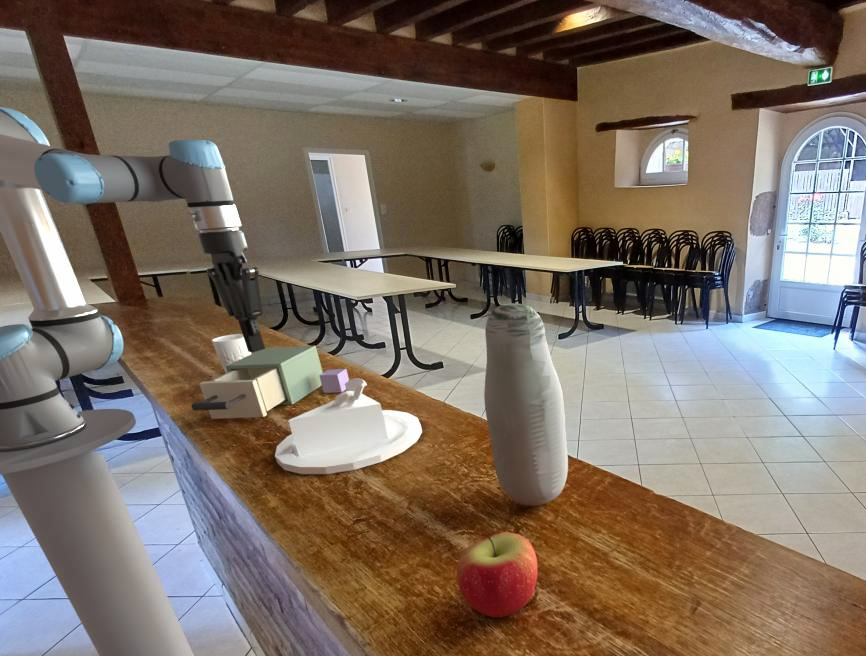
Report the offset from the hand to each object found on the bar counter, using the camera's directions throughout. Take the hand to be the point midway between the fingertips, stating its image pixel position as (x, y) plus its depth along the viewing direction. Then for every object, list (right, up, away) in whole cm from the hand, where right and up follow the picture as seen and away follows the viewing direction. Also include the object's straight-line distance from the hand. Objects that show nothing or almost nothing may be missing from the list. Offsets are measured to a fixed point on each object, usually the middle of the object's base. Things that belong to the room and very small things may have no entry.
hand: (256, 350), depth 114 cm
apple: (+61, -34, -55) cm, 89 cm away
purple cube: (+9, -7, +17) cm, 20 cm away
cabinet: (-4, -8, +16) cm, 19 cm away
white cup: (-26, -2, +34) cm, 43 cm away
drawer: (-4, -13, +4) cm, 14 cm away
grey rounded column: (+62, -26, -34) cm, 75 cm away
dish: (+25, -19, -12) cm, 34 cm away
